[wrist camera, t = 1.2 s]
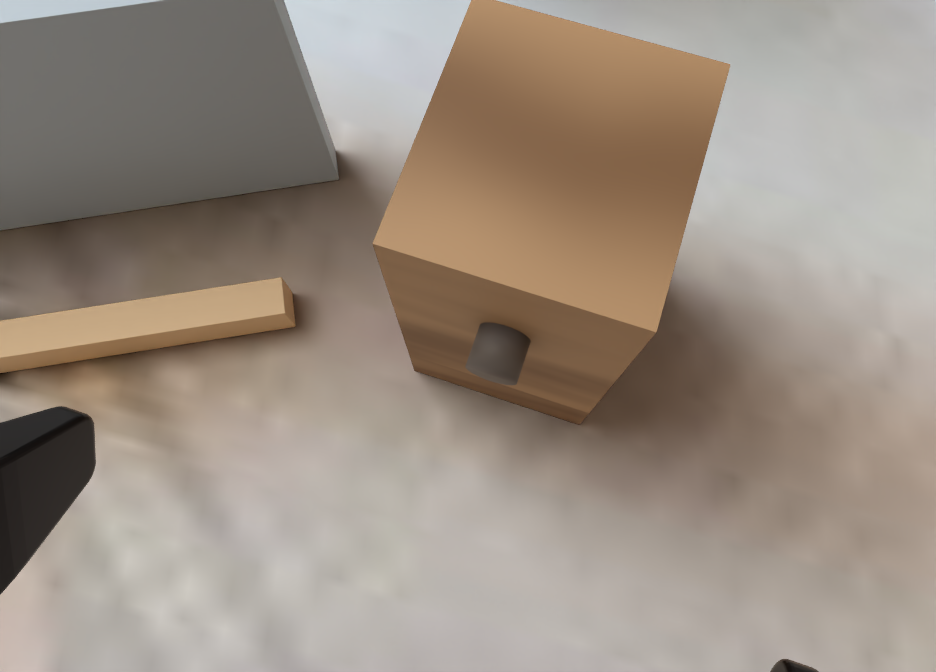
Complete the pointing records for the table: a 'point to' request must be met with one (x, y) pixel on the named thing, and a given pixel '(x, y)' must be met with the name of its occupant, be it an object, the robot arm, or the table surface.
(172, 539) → the table surface
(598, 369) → the cabinet
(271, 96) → the wall board
